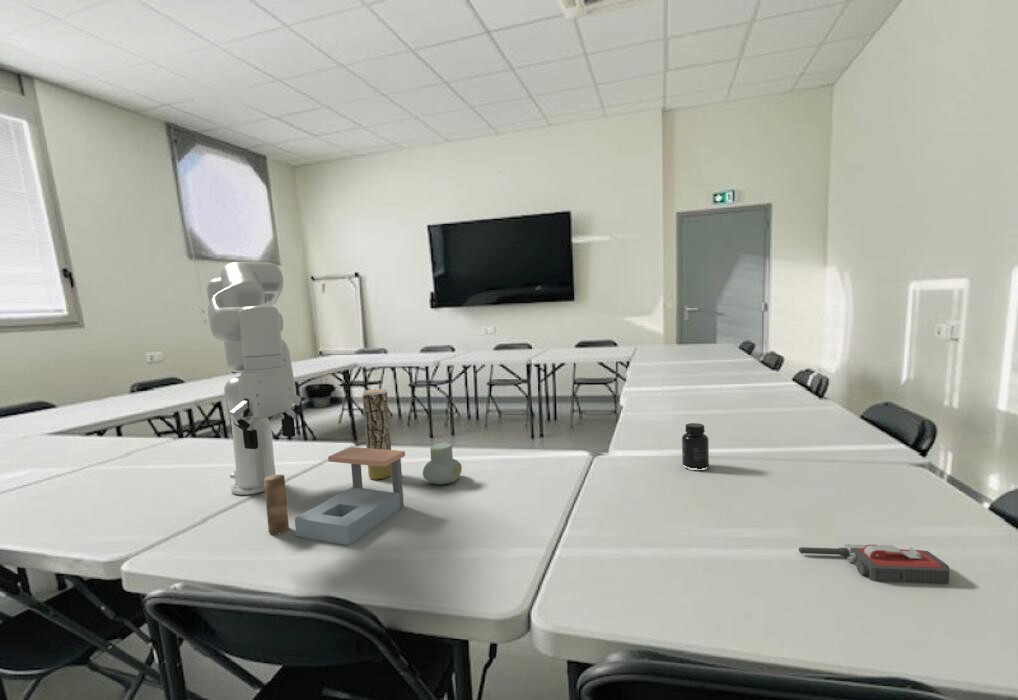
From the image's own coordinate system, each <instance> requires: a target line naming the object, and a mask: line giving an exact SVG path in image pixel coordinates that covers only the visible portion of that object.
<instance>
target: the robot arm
mask: <svg viewBox="0 0 1018 700" xmlns="http://www.w3.org/2000/svg"><path fill="white" fill-rule="evenodd" d="M283 288H284V275H283V273H282V270H281V268H280V267H279V266H278V265H276V264H275V263H273V262H268V261H267V262H265V261H263V262H262V261H234V262H233V261H232V262H230V263H228V264H226V265H225V266H223V268H222V269H221V272H220V277H217V278H213V279H211V280H210V281H209V282H208V284H207V285H206V293H207V298H208V308H207V316H208V322H209V327H210V330H211V333H212V335H213V337H214V338H215V339H216V340H218V341H220V342H223V345H224V351H225V359H226V363H227V364H226V365H227V366H228V369H230V370H231V372H234V373H239V374H240V375H238V376H234V377H232V378H230V379H229V380H227V382H226V383H225V386H224V391H223V392H224V398H225V402H226V404H227V408H228V412H229V413H228V416H229V417H230V423H231V424H230V425H231V432H232V441H233V443H232V444H233V452H234V453H233V454H234V462H235V464H234V465H235V470H234V472H232V473H230V474H229V478H230V479H232V480H233V479H234V480H235V483H234V484H232V486H231V488H230V490H231V493H232V494H234V495H238V496H239V495H242V496H245V495H255V494H260V493H265V486H264V479H265V478H266V477H269V476H272V475H277V474H276V466H275V454H274V443H273V433H272V432H273V431H272V424H271V421H270V419H269V417H273V416H277V415H278V416H279V415H280V416H282V417H283V418H281V429H282V430H281V431H282V436H283V437H291V438H293V437H295V436H296V426H295V419H296V418H297V413H298V411H299V410H300V404H301V401H302V397H301V396H300V395H297V393H296V392H297V389H296V383H295V377H294V371H293V370H294V369H293V366H292V359H291V355H290V354H291V353H290V350H289V346H288V344H287V342H286V340H284V339H282V331H283V330H284V320H283V315H282V313H281V312H279V310H278V308H277V307H276V306H274V305H275V304H276V303H277V302H278V300H279V298H280V296H281V294H282V292H283Z"/></svg>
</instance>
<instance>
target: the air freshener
mask: <svg viewBox="0 0 1018 700" xmlns="http://www.w3.org/2000/svg"><path fill="white" fill-rule="evenodd" d="M429 449H430V461H428V462H427V463H426V464H425V465H424V466H423V471H422V476H423V478H424V480H425V481H427V482H428V483H431V484H434V485H448V484H450V485H451V484H452V483H454V482H455V481H457V480H458V479H459V477H460V476H461V473H462V464H461V462H460V461H459V460H457V459H455V458H454V457H453V445H452V444H451V443H448V442H441V443H439V442H438V443H435V444H432V445H431V446H430V448H429Z"/></svg>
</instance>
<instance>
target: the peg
mask: <svg viewBox="0 0 1018 700" xmlns="http://www.w3.org/2000/svg"><path fill="white" fill-rule="evenodd" d="M264 486H265V491H264V496H265V505H266V517H267V527H268V529H267V530H268V534H269V533H270V534H278V535H280V534H279V533H282V534H284V533H286V532H288V531H289V530H290V525H289V524H290V522H289V513H288V511H289V510H288V502H287V492H286V491H287V490H286V478H285V475H284V474H276V475H272V476H269V477H266V478H265V479H264ZM288 529H289V530H288ZM287 530H288V531H287ZM285 531H286V532H285ZM283 532H284V533H283ZM270 534H269V535H270Z"/></svg>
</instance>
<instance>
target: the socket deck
mask: <svg viewBox="0 0 1018 700" xmlns="http://www.w3.org/2000/svg"><path fill="white" fill-rule="evenodd" d="M405 456H406V451H405V450H397V449H396V450H394V449H391V450H384V449H371V448H366V447H357V446H350V447H348V448H345V449H343V450H340V451H338V452H337V453H333V454H331V455H329V456H328V457H327V459H328V460H327V461H328V462H329V463H338V464H339V463H341V464H351V477H352V487H349V488H347V489H346V490H343V492H340V493H338V494H337V495H335V496H333V497H331V498H329V499H327V500H325V501H324V502H321V503H320V504H318V505H316V506H314V507H313V508H311V509H309V510H307V511H305V512H303V513H302V514H300V515H297V516H296V517H294V525H295V526H294V527H295V537H298V536H300V537H299V538H303V537H305V538H304V539H309V538H310V539H311V540H315V539H317V540H316V541H321V540H323V541H322V542H327V543H332V542H333V544H338V545H339V544H340V545H345V546H350V545H351V544H353V543H354V542H355V541H357V540H359V539H360V538H361V537H363V536H364V535H365V534H367V533H369V532H370V531H371V530H373V529H374V528H375V527H377V526H379V525H380V524H381V523H382V522H384V521H385V520H387V519H388V518H390V517H391V516H392V515H394V514H395V513H396V512H398V511H399V510H400V509H401V508H403V507H404V506H405V503H404V501H405V500H404V490H403V472H402V458H404V457H405ZM389 464H391V466H392V475H391V477H392V490H393V491H389V490H381V489H380V490H379V489H370V488H363V476H362V475H363V474H362V466H368V465H370V466H381V467H385V466H387V465H389ZM310 539H309V540H310Z"/></svg>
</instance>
